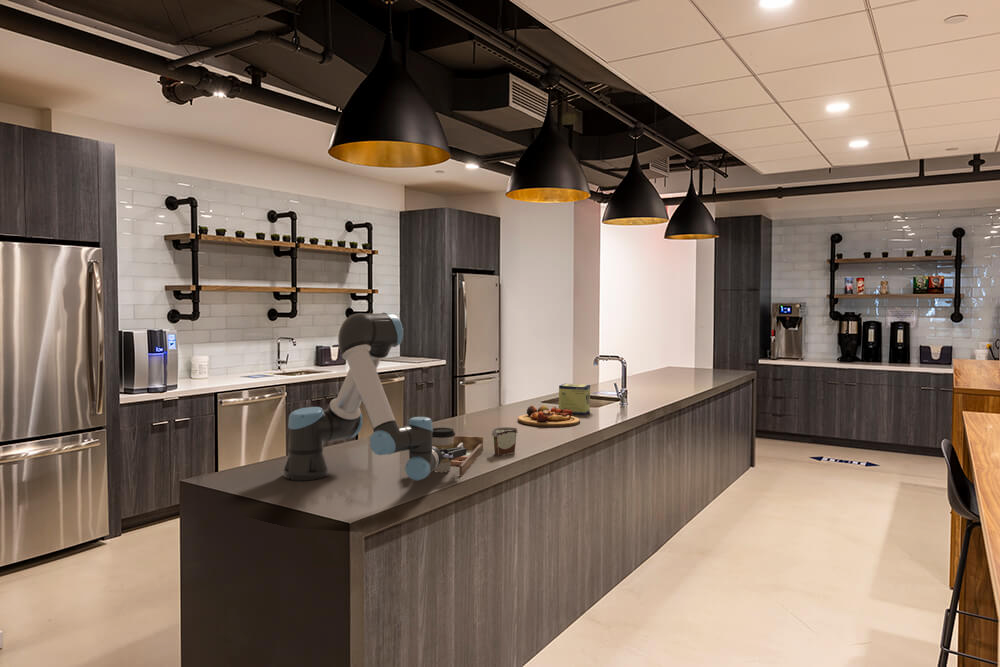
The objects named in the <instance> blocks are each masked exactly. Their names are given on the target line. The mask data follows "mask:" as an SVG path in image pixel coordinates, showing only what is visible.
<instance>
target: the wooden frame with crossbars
mask: <svg viewBox="0 0 1000 667" xmlns="http://www.w3.org/2000/svg"><path fill="white" fill-rule="evenodd" d="M453 442H454V445H453V448H457V446H458V445H459V444H460V443H463V447H464V448H466V455H465V456H462V457H458V458H454V459H452V461H451V466H456V465H460V466H459V471H458V472H459V475H461V476H460V477H463V476H462V475H464V474H465V473H466V472H467V471H468V470H469V468H471V467H472V465H473V464H474V463H475V461H476V460H477V459H478V458H479V457H480V456H481V455H482V453H483V452H484V436H474V435H455V436H454V441H453ZM482 451H483V452H482ZM481 452H482V453H481ZM478 456H479V457H478ZM477 457H478V458H477ZM476 458H477V459H476ZM459 460H465V461H459ZM473 462H474V463H473ZM472 463H473V464H472ZM471 464H472V465H471ZM467 469H468V470H467ZM466 470H467V471H466Z"/></svg>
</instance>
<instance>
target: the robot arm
mask: <svg viewBox="0 0 1000 667" xmlns="http://www.w3.org/2000/svg"><path fill="white" fill-rule="evenodd" d="M403 339H404V328H403V324H402V322H401V320H400V318H399V316H397V315H396V314H394V313H389V312H388V313H387V312H382V313H381V312H380V313H362V312H359V313H354V314H351V315H349V316H348V317H346V319H345V320H344V321H343V322H342V324H341V326H340V328H339V332H338V341H337V342H338V348H339V351H340V355H341V358H342V359H343V360H345V361H347V364H348V366H349V369H348V370H347V374H346V376H345V379H344V380H343V383H342V385H341V387H340V389H339V392H338V395H337V396H336V397H335V398H333V399H331V401H330V402H329V405H328V407H327V408H326V409H323V408H322V407H319V406H308V407H301V408H298V409H296V410H293V411H292V412H290V414H289V415H288V424H287V427H288V456H287V459H286V462H285V465H284V467H283V478H284V477H285V478H284V479H286V478H287V479H286V480H289V479H291V480H290V481H299V482H300V481H302V480H303V481H313V480H319V479H323V478H325V477H327V476H328V475H329V467H328V463H327V460H326V458H325V454H324V444H325V443H326V444H327V443H333V442H337V441H338V442H339V441H343V440H348V439H352V438H354V437H356V436H357V435H358V434H359V433H360V431H361V430H362V427H363V421H362V420H363V414H362V411H361V408H360V406H361V403H362V404H363V407H364V410H365V412H366V415H367V418H368V420H369V423H370V426H371V429H372V431H373V433H371V435H370V436H369V442H370V444H369V446H370V449H371V451H372V452H373V454H375V455H377V456H384V455H386V456H387V455H388V456H389V455H392V454H395V453H399V452H404V451H408V460H407V462H406V464H405V467H404V468H405V470H404V471H405V473H406V475H407V477H408V478H410V479H411V480H413V481H421V480H424V479H425V478H427V477H428V476H429V475H430V473H431V472H432V471H433V469H435V468H436V467H437V466H438V465H439V464H440V462H441V460H442V459H446V458H448V459H449V460H452V459H454V458H458V457H462V456H465V455H466V448H464V447H463V443H460V444H459V445H458V446H457V448H452V449H444V448H443V449H438V448H436V447H434V446H432V432H433V421H432V418H430V417H427V416H413V417H411V418H409V420H408V425H405V426H399V425H398V424H397V421H396V418H395V415H394V413H393V410H392V407H391V405H390V403H389V400H388V397H387V394H386V393H385V390H384V386H383V384H382V381H381V378H380V376H379V373H378V371H377V369H378V367H379V365H380V363H381V361H382V359H385V358H386V357H388V355H389V353H390V351H391V349H392V348H396V347H398V346H400V345H401V343H402V342H403ZM442 451H443V452H442Z"/></svg>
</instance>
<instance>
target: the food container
mask: <svg viewBox="0 0 1000 667" xmlns="http://www.w3.org/2000/svg"><path fill="white" fill-rule="evenodd" d="M517 434H518V428H517V427H506V426H505V427H504V426H503V427H496V428H493V430H492V433H491V436H492V437H493V448H494V455H495V454H496V455H498V456H497V457H500V456H499V455H502V456H505V455H504V454H507V455H510V454H509V453H511V454H515V453H516V443H517ZM514 452H515V453H514ZM496 455H495V456H496Z"/></svg>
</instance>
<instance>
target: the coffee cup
mask: <svg viewBox="0 0 1000 667" xmlns="http://www.w3.org/2000/svg"><path fill="white" fill-rule="evenodd" d="M432 429H433V432H432V446H434V447H436V448H438V449H443V448H444V449H452V448H453V445H454V442H453V441H454V436H456V432H455V430H454V429H453V428H450V427H434V428H433V427H432ZM442 452H443V451H442ZM451 461H452V460H449V459H448V458H446V459H442V460H441V462H440V464H439V465H438V466H437V467H436V468H435V469H433V470H434V471H437V472H436V473H438V472H445V473H447V472H446V471H449V470H450V471H451V467H452V465H451ZM433 470H432V471H433ZM434 471H433V472H434ZM450 471H449V472H450Z"/></svg>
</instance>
